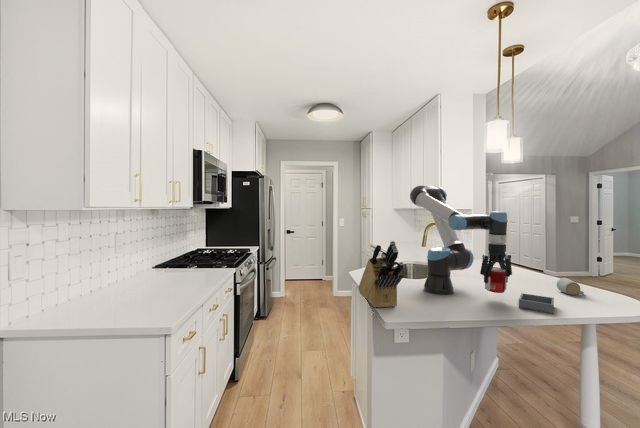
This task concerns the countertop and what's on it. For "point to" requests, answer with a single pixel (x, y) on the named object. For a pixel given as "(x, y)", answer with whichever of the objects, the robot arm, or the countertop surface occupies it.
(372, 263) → the knife block
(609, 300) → the countertop surface
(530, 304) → the tray
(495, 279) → the canned food
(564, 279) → the ceramic mug
